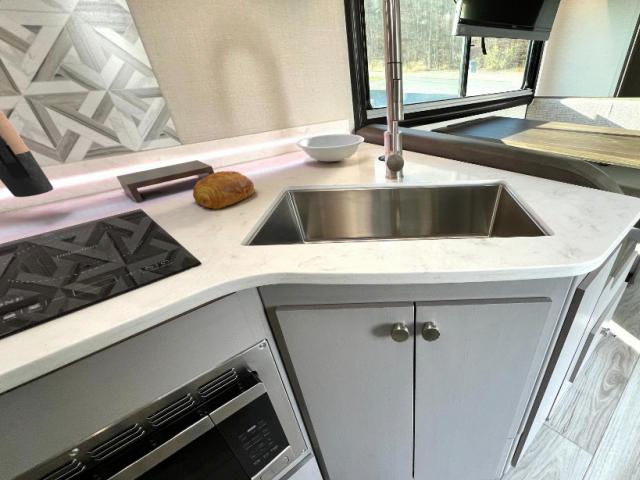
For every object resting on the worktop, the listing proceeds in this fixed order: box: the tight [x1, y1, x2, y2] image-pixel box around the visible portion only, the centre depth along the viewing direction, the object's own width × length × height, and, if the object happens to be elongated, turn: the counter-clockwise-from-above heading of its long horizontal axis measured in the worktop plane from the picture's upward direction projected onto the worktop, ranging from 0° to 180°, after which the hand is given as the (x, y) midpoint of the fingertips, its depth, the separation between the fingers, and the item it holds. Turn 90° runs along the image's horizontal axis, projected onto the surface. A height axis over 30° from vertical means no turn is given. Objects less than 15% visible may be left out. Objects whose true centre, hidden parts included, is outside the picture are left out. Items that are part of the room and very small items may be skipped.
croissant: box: [192, 170, 255, 210], centre depth 84 cm, size 14×16×8 cm
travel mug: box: [0, 108, 54, 198], centre depth 69 cm, size 8×8×20 cm
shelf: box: [116, 159, 215, 204], centre depth 94 cm, size 22×12×5 cm, turn 137°
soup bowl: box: [296, 133, 365, 162], centre depth 115 cm, size 24×24×7 cm
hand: (21, 173), depth 73 cm, fingers closed on travel mug, 8 cm apart
